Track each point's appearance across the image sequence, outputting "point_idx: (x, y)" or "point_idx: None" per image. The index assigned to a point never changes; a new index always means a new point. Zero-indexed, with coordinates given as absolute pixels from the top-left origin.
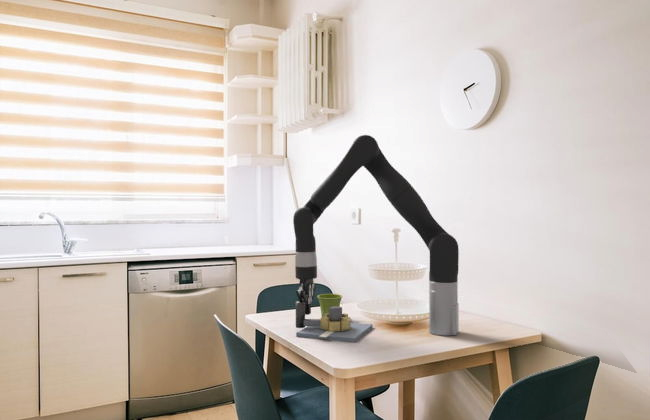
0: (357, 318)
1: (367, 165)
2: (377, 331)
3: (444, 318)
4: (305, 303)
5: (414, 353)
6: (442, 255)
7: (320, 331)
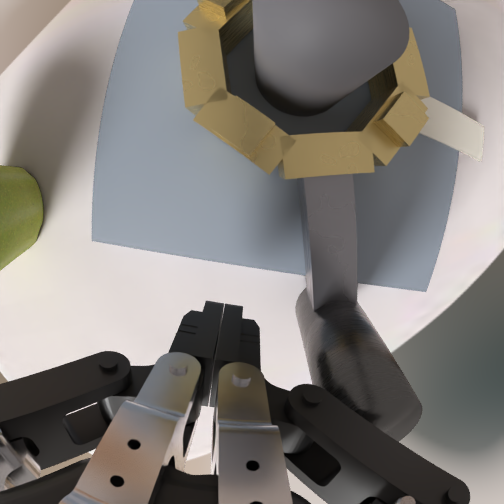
0: (2, 88)
1: None
2: None
3: None
4: (272, 396)
5: None
6: None
7: (395, 162)
